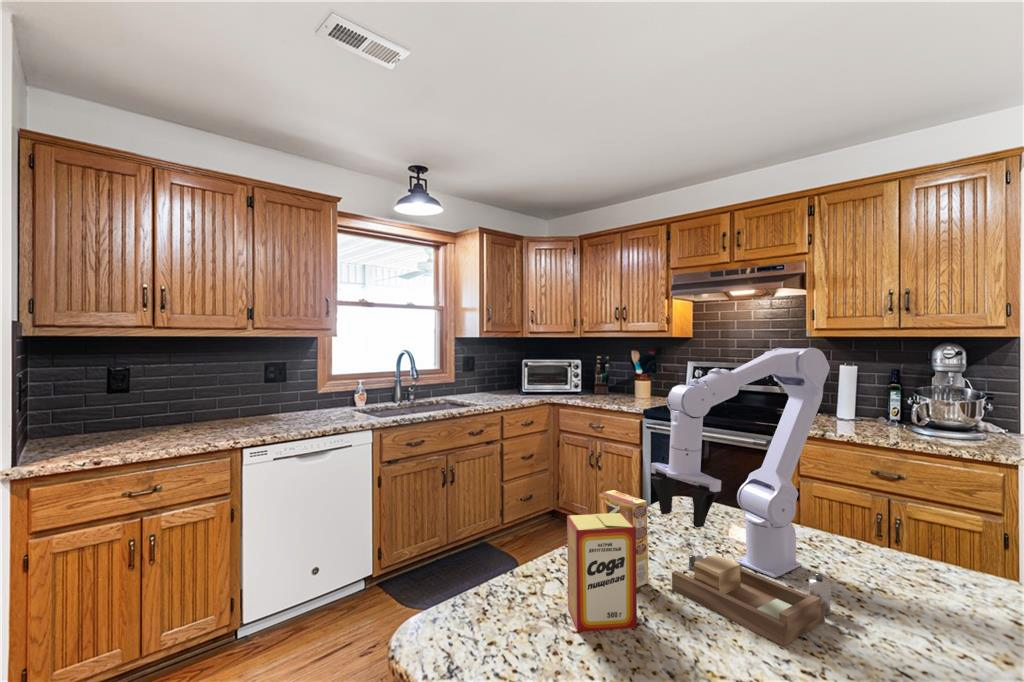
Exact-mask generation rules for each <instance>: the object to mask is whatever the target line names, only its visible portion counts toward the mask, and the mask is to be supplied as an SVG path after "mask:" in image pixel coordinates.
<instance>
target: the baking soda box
mask: <svg viewBox="0 0 1024 682" xmlns="http://www.w3.org/2000/svg"><path fill="white" fill-rule="evenodd" d="M566 524H567V525H566V532H567V533H566V536H567V537H566V539H567V541H566V542H567V547H566V548H567V550H566V551H567V610H568V612H569V614H570V618H571V620H572V623H573V625H574V627H575V630H576V633H580V632H581V633H583V632H584V633H585V632H596V631H613V630H624V629H637V628H638V620H637V619H638V607H637V603H638V602H637V600H638V599H637V597H638V596H637V594H638V593H637V588H636V527H635V526H634V525H633V524H632V523H631V522H630V521H629V520H628V519H627V518H626V517H625V516H624V515H623V514H622V513H608V514H600V513H594V514H577V515H576V514H575V515H574V514H573V515H567V516H566Z"/></svg>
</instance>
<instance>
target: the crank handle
mask: <svg viewBox="0 0 1024 682" xmlns="http://www.w3.org/2000/svg"><path fill="white" fill-rule="evenodd" d="M701 559H704V555H701V554H697V556H696V555H694V554H689V555H688V571H693V572H694V562H696V561H699V560H701Z"/></svg>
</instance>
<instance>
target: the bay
mask: <svg viewBox="0 0 1024 682" xmlns="http://www.w3.org/2000/svg"><path fill="white" fill-rule="evenodd" d="M740 579H741V584H740V587H739V588H737V589H735V590H733V591H731V592H728V593H726V594H724V593H722V592H720V591H718V590H716V589H714V588H712V587H710V586H707V585H705V584H703V583H701V582H699V581H697V580H695V579H694V574H692V575H690V576H688V575H687V574H684V573H682V572H679V571H677V570H676V571H675V570H674V571H673V572H671V589H672V590H673V591H674V592H676V593H678V594H680V595H682V596H684V597H686V598H689V599H690V600H693V601H694V602H695V603H698V604H700V605H702V606H704V607H706V608H708V609H709V610H710V611H711V610H712V611H714V612H715V613H717V614H719V615H721V616H723V617H724V618H725V617H726V618H727V619H728V620H731V621H733V622H735V623H737V624H739V625H740V626H743V627H744V628H747V629H749V631H752V632H754V633H756V634H757V635H760V636H762V637H764V638H766V639H768V640H769V641H772V642H774V643H775V644H777V645H779V646H781V647H785V646H787V645H788V644H790V643H791V642H793V641H795V640H796V639H798V638H800V637H801V636H803V635H805V634H806V633H808V632H810V631H811V630H813V629H814V628H816V627H818V626H820V625H821V624H823V623H824V622H825V621H826V616H825V602H823V601H821V598H820V597H817V596H815V595H811V596H809V594H806V593H804V592H801V591H799V590H796V589H794V588H791V587H789V586H787V585H784V584H781V583H779V582H776V581H774V580H772V579H769V578H767V577H765V576H762V575H759V574H757V573H755V572H752V571H750V570H747V569H745V568H743V567H741V572H740Z"/></svg>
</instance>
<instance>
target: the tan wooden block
mask: <svg viewBox="0 0 1024 682" xmlns="http://www.w3.org/2000/svg"><path fill="white" fill-rule="evenodd" d="M741 568H742V567H741V564H739V563H737V561H736V562H735V561H732V560H731V559H727V558H726V557H723V556H720V555H718V554H715V553H714V554H712V555H710V556H707V557H703V559H701V560H699V561H696V562H694V571H693V572H694V574H693V575H694V579H695V580H697V581H699V582H701V583H703V584H705V585H707V586H710V587H712V588H714V589H716V590H718V591H720V592H722V593H724V594H726V593H728V592H731V591H733V590H735V589H737V588H739V587H740V584H741V579H740V572H741Z"/></svg>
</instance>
